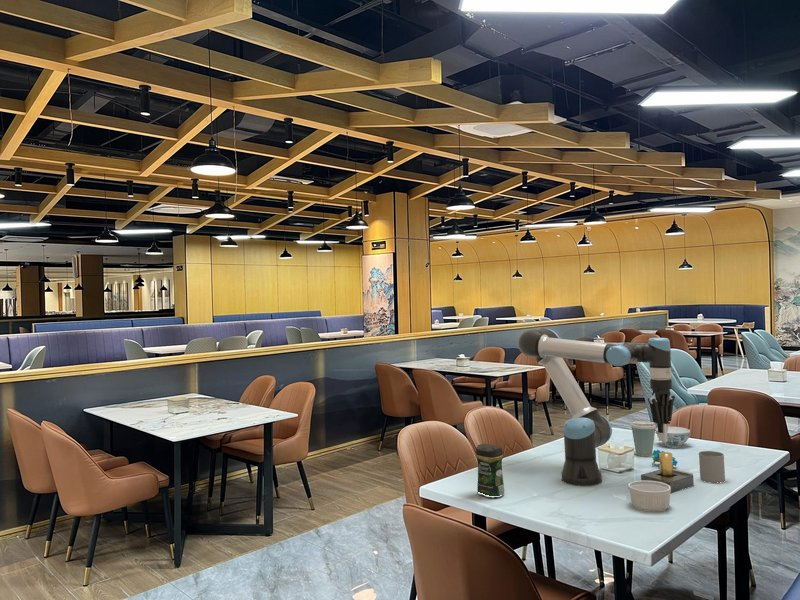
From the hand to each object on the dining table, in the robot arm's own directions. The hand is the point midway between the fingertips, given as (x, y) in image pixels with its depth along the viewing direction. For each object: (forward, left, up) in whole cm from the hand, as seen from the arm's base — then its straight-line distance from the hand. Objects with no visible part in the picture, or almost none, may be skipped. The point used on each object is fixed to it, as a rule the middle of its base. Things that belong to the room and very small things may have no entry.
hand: (663, 440), depth 219 cm
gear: (+20, +14, -16) cm, 29 cm away
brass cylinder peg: (-2, -2, -16) cm, 16 cm away
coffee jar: (-60, +30, -16) cm, 69 cm away
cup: (+17, -8, -16) cm, 25 cm away
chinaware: (+54, +33, -16) cm, 65 cm away
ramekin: (-26, -12, -16) cm, 33 cm away
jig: (-2, -2, -16) cm, 16 cm away
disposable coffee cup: (+30, +31, -16) cm, 46 cm away
